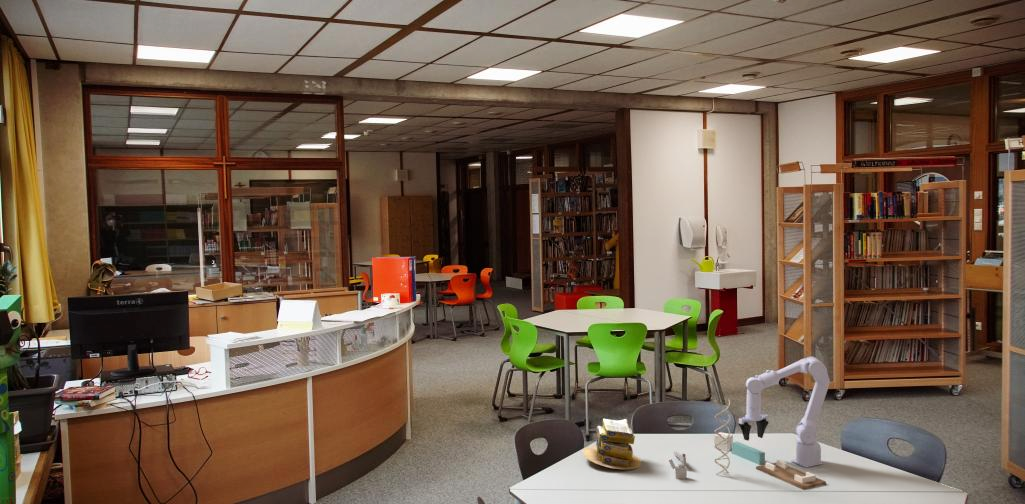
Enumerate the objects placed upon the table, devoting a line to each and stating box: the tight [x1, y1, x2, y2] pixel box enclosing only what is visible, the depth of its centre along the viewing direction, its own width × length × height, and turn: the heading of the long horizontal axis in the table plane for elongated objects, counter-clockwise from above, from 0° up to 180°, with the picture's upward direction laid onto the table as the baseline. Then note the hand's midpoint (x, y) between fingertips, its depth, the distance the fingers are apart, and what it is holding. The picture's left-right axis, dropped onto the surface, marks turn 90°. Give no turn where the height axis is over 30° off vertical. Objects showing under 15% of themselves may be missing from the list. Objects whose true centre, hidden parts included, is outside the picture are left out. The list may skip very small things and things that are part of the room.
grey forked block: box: [667, 457, 688, 480], centre depth 277 cm, size 7×2×8 cm, turn 87°
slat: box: [731, 441, 766, 466], centre depth 299 cm, size 3×16×5 cm, turn 26°
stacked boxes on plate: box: [582, 417, 642, 470], centre depth 296 cm, size 25×25×17 cm
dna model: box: [714, 398, 731, 475], centre depth 281 cm, size 7×6×30 cm
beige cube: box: [713, 431, 734, 452], centre depth 312 cm, size 6×6×6 cm
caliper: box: [673, 450, 687, 468], centre depth 296 cm, size 20×1×6 cm, turn 178°
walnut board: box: [755, 461, 827, 490], centre depth 278 cm, size 12×24×1 cm, turn 25°
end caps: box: [764, 459, 817, 483], centre depth 278 cm, size 7×19×2 cm, turn 25°
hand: (753, 438), depth 295 cm, fingers open, 7 cm apart
